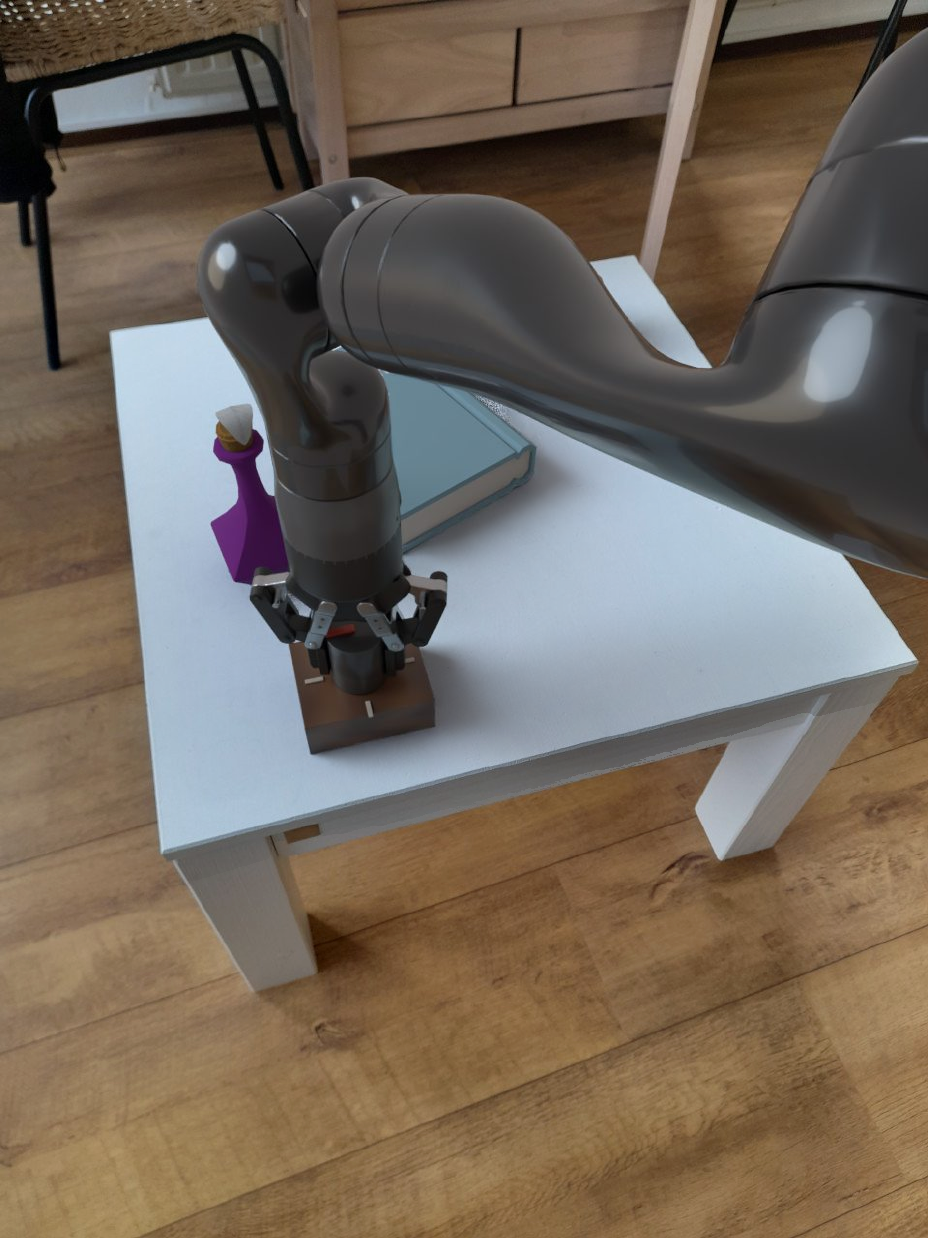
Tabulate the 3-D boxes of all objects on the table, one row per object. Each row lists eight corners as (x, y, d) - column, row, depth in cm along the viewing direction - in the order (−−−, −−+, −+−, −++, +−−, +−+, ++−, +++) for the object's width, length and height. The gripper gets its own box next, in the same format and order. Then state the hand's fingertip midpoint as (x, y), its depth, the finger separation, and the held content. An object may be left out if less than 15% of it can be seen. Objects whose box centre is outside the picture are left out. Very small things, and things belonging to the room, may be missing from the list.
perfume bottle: (216, 546, 85) (170, 389, 70) (294, 522, 87) (265, 364, 72) (240, 605, 81) (196, 451, 66) (321, 578, 83) (296, 423, 68)
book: (269, 422, 95) (262, 382, 91) (396, 362, 101) (394, 322, 97) (400, 554, 84) (398, 516, 80) (533, 478, 91) (537, 439, 87)
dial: (381, 642, 74) (377, 597, 69) (394, 688, 71) (390, 644, 66) (327, 654, 73) (319, 609, 68) (337, 700, 70) (329, 656, 66)
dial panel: (411, 644, 78) (410, 614, 75) (436, 729, 73) (436, 702, 70) (294, 668, 77) (287, 639, 73) (311, 758, 72) (304, 731, 68)
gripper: (214, 555, 55) (259, 705, 69) (453, 561, 55) (451, 710, 69) (235, 467, 60) (273, 624, 74) (455, 472, 60) (453, 629, 74)
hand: (359, 665), depth 71 cm, fingers closed on dial, 4 cm apart
